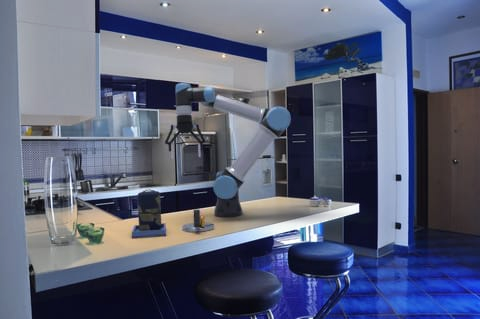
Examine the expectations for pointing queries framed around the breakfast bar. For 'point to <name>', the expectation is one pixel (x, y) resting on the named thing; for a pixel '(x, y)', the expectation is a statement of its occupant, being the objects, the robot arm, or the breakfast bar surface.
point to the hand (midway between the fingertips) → (186, 157)
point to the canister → (149, 210)
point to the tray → (148, 232)
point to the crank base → (207, 227)
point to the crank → (197, 219)
